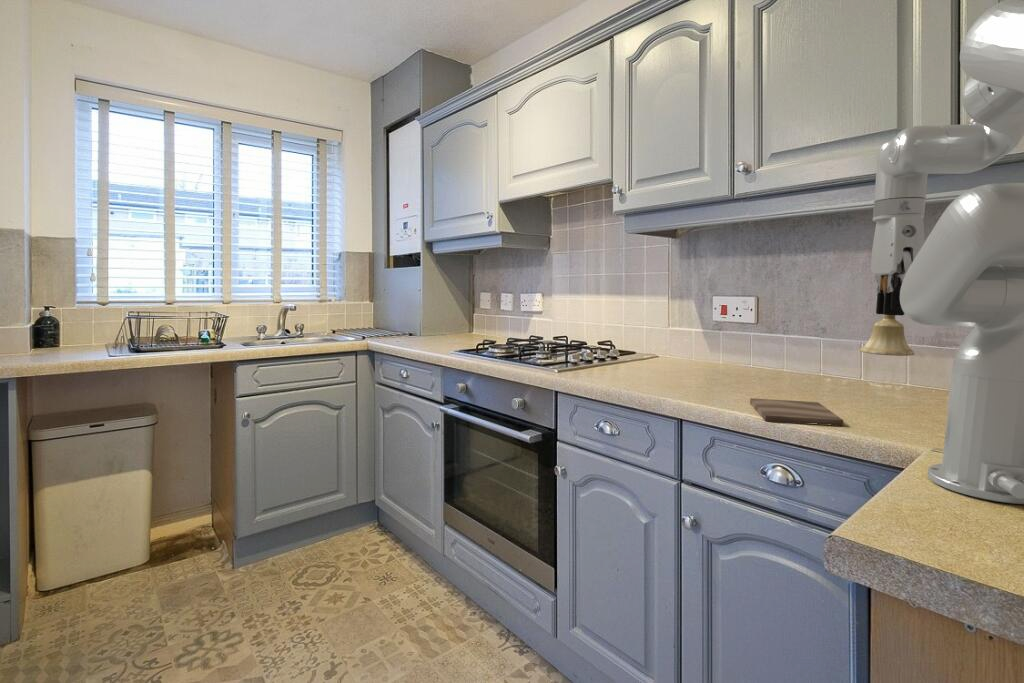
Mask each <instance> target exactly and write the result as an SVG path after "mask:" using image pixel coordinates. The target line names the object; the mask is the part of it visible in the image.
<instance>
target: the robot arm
mask: <svg viewBox="0 0 1024 683" xmlns="http://www.w3.org/2000/svg"><path fill="white" fill-rule="evenodd" d="M959 62H960V67H961V69H962V71H963V72H964V73H965V74H966V76H967V77H969V79H967V81H966V83H965V84H964V86H963V88H962V92H961V103H962V107H963V109H964V111H965V112H966V114H967V115H968V116H969V117H970V118H971V119H972V120H973V121H975V122H976V123H977V124H938V125H916V126H910V127H909V126H908V127H907V128H905V129H903V130H901V131H900V132H898V133H897V135H895V137H893V139H891V140H887V141H885V142H883V144H881V145H880V147H879V149H878V150H877V157H876V158H877V161H876V170H875V171H876V174H875V185H874V186H875V187H874V197H873V210H872V211H873V213H872V222H876V224H875V230H874V234H873V242H872V249H871V250H872V251H871V258H870V269H871V270H870V272H871V273H872V274H873V275H874V280H876V283H877V285H876V292H877V294H876V306H875V309H876V310H875V313H876V314H877V315H883V316H884V315H895V316H907V318H908V319H910V320H911V321H913V322H915V323H917V324H920V325H926V326H935V327H964V328H965V327H968V328H969V327H972V328H973V329H971V331H970V332H969V333H968V335H967V336H965V338H964V339H963V341H962V342H961V343H960V345H959V346H958V347H957V349H956V351H955V354H954V357H953V361H952V367H951V368H952V369H951V377H950V387H949V396H948V406H947V414H946V415H947V416H946V423H945V424H946V425H945V435H944V445H943V453H942V454H943V456H942V462H941V463H937V464H933V465H931V466H929V467H927V477H928V479H929V480H930V481H931V482H933V483H935V484H936V485H938V486H940V487H942V488H945V489H948V490H950V491H953V492H955V493H959V494H962V495H966V496H970V497H974V498H977V499H982V500H987V501H993V502H998V503H1006V504H1014V505H1015V504H1017V505H1024V182H1006V183H1005V182H1004V183H990V184H982V185H979V186H975V187H972V188H970V189H968V190H967V191H964V192H963V193H961V194H960V195H958V196H957V197H955V199H953V200H952V201H951V203H949V205H948V206H947V207H946V208H945V210H944V211H943V212H942V214H941V216H940V217H939V219H938V220H937V221H936V223H935V225H934V227H933V228H932V230H931V231H930V233H929V234H928V236H927V237H926V239H925V225H924V218H925V210H926V209H925V208H926V197H927V185H928V175H949V174H953V175H954V174H955V175H957V174H958V175H959V174H961V175H962V174H963V175H965V174H970V173H971V174H972V173H974V172H978V171H981V170H983V169H985V168H987V167H989V166H991V165H993V164H994V163H996V162H997V161H999V160H1001V159H1002V158H1003V157H1006V155H1008V154H1010V153H1011V152H1012V151H1013V150H1014V149H1015V148H1017V147H1018V145H1019V144H1020V142H1021V140H1023V137H1024V0H1002V1H1000V2H998V3H996V4H994V5H992V6H991V7H990V8H988V9H986V10H985V11H984V12H983V13H982V14H981V15H980V16H978V18H977V19H976V20H975V21H974V23H973V24H972V25H971V27H970V28H969V29H968V31H967V33H966V34H965V36H964V39H963V41H962V44H961V48H960V52H959ZM895 272H896V273H899V275H898V274H894V273H895ZM884 275H888V287H887V292H888V293H885V296H884V293H883V278H884ZM894 278H896V279H895V281H894Z"/></svg>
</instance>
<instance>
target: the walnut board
mask: <svg viewBox="0 0 1024 683" xmlns="http://www.w3.org/2000/svg"><path fill="white" fill-rule="evenodd" d="M749 404H750V406H751V407H752V408H753V409H754V410H755V411H756V413H757V414H759V416H760V417H761V418H762V420H763V421H765V422H770V423H771V422H772V423H787V424H788V423H789V424H801V423H817V424H831V425H830V426H833V425H843V426H844V419H842V418H841V417H840V416H838V415H837V414H835V413H834V412H833V411H831V410H830V409H828V408H827V407H825V406H824V405H823V404H822V403H820V402H819V401H805V400H800V401H799V400H788V399H787V400H786V399H784V400H783V399H769V398H768V399H767V398H752V397H751V398H750V399H749ZM817 424H816V425H817Z"/></svg>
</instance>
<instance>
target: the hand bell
mask: <svg viewBox="0 0 1024 683" xmlns="http://www.w3.org/2000/svg"><path fill="white" fill-rule="evenodd" d="M894 274H898V275H899V273H896V272H895V273H894ZM895 279H896V278H894V281H895ZM887 287H888V275H884V278H883V293H884V296H885V293H888V292H887ZM859 352H860V353H865V354H872V355H880V356H891V357H892V356H898V357H899V356H900V357H902V356H903V357H904V356H905V357H907V356H908V357H909V356H915V352H914V350H913V349H912V348H911V347H910V346H909V345H908V342H907V340H906V337H905V327H904V324H903V323H901V322H899V321H898V320H896V315H884V314H883V318H882V320H879V321H877V322H875V323H874V324H873V329H872V332H871V335H870V338H869V339H868V340H867V342H866V344H865V345H863V346H862V347H861V348H860V349H859Z"/></svg>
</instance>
